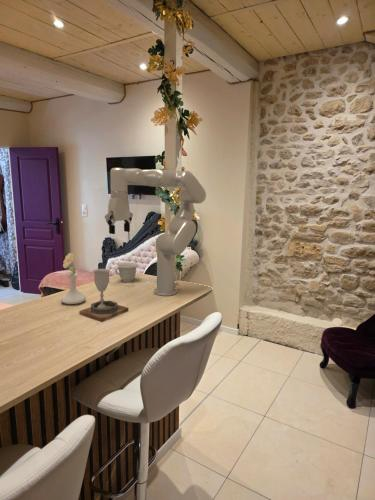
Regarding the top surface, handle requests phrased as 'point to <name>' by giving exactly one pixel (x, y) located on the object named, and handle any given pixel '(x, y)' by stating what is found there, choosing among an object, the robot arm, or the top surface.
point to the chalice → (101, 283)
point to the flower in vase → (72, 284)
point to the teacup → (126, 271)
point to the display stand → (103, 311)
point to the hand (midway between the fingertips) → (119, 232)
